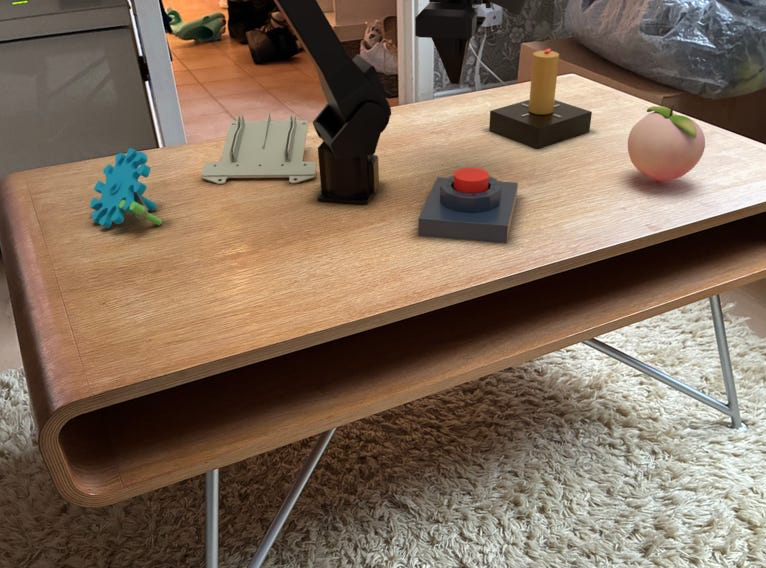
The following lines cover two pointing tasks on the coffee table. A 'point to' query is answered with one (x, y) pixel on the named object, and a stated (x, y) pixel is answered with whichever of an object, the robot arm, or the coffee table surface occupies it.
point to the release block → (469, 212)
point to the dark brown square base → (540, 123)
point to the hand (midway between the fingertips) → (455, 83)
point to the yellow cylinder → (543, 82)
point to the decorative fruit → (665, 144)
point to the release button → (471, 180)
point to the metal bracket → (263, 151)
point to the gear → (123, 191)
